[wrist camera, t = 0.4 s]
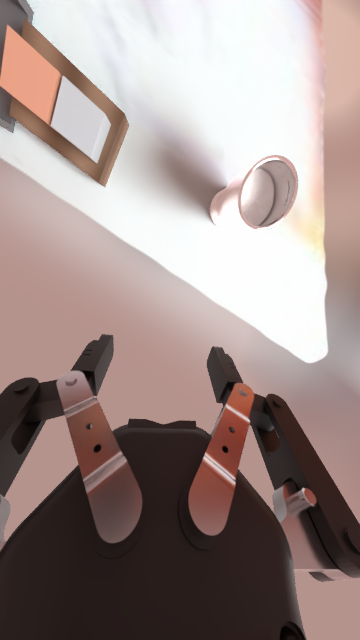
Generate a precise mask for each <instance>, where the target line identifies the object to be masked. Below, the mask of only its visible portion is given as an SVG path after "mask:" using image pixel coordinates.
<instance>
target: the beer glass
mask: <svg viewBox="0 0 360 640" xmlns="http://www.w3.org/2000/svg"><path fill="white" fill-rule="evenodd" d="M297 190H298V177H297V172H296V170H295V167H294V166H293V164H292V163H291V162H290V161H289V160H288V159H287V158H285V157H283V156H279V155H273V156H268V157H265V158H263V159H261V160H260V161H258V162H256V163H254V164H252V165H250V166H249V167H247V168H246V169H244V170H243V171H241V172H240V173H239V174H238V175H236V176H235V177H234V178H233V179H232V180H231V182H230V183H229V184H228V186H227V187H226V189H223V190H221V191H219V192H218V193H217V194H216V195H215V196H214V198H213V200H212V202H211V205H210V216H211V219H212V221H213V222H214V224H215V225H217V226H219V227H222V228H226V227H231V228H233V229H236V230H239V231H256V230H265V229H268V228H271V227H273V226H275V225H276V224H278V223H279V222H280V221H282V220H283V219H284V217H285V216H286V215H287V214H288V212H289V211H290V209H291V208H292V206H293V203H294V201H295V198H296V195H297Z"/></svg>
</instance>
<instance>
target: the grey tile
mask: <svg viewBox="0 0 360 640" xmlns="http://www.w3.org/2000/svg"><path fill="white" fill-rule="evenodd" d="M110 126H111V124H110V122H109V120H108V118H107V116H106V114H105V113H104V112H103V111H102V110H100V109H99V108H98V107H97V106H96V105H95V104H94V103H93V102H92V101H91V100H90V99H88V98H87V97H86V96H85V95H84V94H83V93H82V92H81V91H80V90H79V89H78V88H76V87H75V86H74V85H73V84H72V83H71V82H70V81H69V80H68V79H67V78H66V77H64V76H63V77H62V81H61V85H60V89H59V93H58V98H57V102H56V106H55V110H54V114H53V118H52V123H51V127H52V128H54V129H55V130H56V131H57V132H58V133H59V134H60V135H62V136H63V137H64V138H65V139H67V140H68V141H69V142H70V143H72V144H73V145H74V146H75V147H77V148H78V149H79V150H80V151H82V152H83V153H84V154H85V155H87V156H88V157H89V158H90V159H92V160H93V161H94V162H95V163H98V160H99V157H100V154H101V152H102V149H103V146H104V143H105V140H106V138H107V135H108V132H109V129H110Z"/></svg>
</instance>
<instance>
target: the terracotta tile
mask: <svg viewBox="0 0 360 640" xmlns="http://www.w3.org/2000/svg"><path fill="white" fill-rule="evenodd" d="M61 81H62V76H61V74H60V73H59V71H58V70H57V69H55V68H54V67H53V66H52V65H51V64H50V63H49V62H48V61H47V60H46V59H45V58H43V57H42V56H41V55H40V54H39V53H38V52H37V51H36V50H35V49H34V48H33V47H31V46H30V45H29V44H28V43H27V42H26V41H25V40H24V39H23V38H22V37H21V36H19V35H18V34H17V33H16V32H15V31H14V30H13V29H12V28H11V27H10V26H8V25H7V31H6V38H5V46H4V53H3V61H2V69H1V76H0V86H1V87H2V88H3V89H4V90H6V91H7V92H8V93H9V94H10V95H12V96H13V97H14V98H15V99H16V100H17V101H19V102H20V103H21V104H22V105H24V106H25V107H26V108H27V109H29V110H30V111H31V112H32V113H34V114H35V115H36V116H37V117H39V118H40V119H41V120H43V121H44V122H45V123H46V124H48V125H49V126H50V127H51V123H52V118H53V114H54V110H55V106H56V102H57V98H58V93H59V89H60V85H61ZM51 128H52V127H51ZM53 129H54V128H53ZM54 130H55V129H54ZM55 131H56V130H55ZM56 132H57V131H56Z"/></svg>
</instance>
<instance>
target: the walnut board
mask: <svg viewBox="0 0 360 640" xmlns="http://www.w3.org/2000/svg"><path fill="white" fill-rule="evenodd" d="M22 38H23V39H24V40H25V41H26V42H27V43H28V44H29V45H30V46H31V47H33V48H34V49H35V50H36V51H37V52H38V53H39V54H40V55H41V56H42V57H43V58H45V59H46V60H47V61H48V62H49V63H50V64H51V65H52V66H53V67H54V68H55V69H57V70H58V71H59V73H60V74H61V76H62V77H63V76H64V77H66V78H67V79H68V80H69V81H70V82H71V83H72V84H73V85H74V86H75V87H76V88H78V89H79V90H80V91H81V92H82V93H83V94H84V95H85V96H86V97H87V98H88V99H90V100H91V101H92V102H93V103H94V104H95V105H96V106H97V107H98V108H99V109H100V110H102V111H103V112H104V113H105V114H106V116H107V118H108V120H109V122H110V124H111V126H110V129H109V132H108V135H107V138H106V140H105V143H104V146H103V149H102V152H101V154H100V157H99V160H98V163H95V162H94V161H93V160H92V159H90V158H89V157H88V156H87V155H85V154H84V153H83V152H82V151H80V150H79V149H78V148H77V147H75V146H74V145H73V144H72V143H70V142H69V141H68V140H67V139H65V138H64V137H63V136H62V135H60V134H59V133H58V132H56V131H55V130H54V129H53V128H51V127H50V126H49V125H48V124H46V123H45V122H44V121H43V120H41V119H40V118H39V117H37V116H36V115H35V114H34V113H32V112H31V111H30V110H29V109H27V108H26V107H25V106H24V105H22V104H21V103H20V102H19V101H17V100H16V99H15V98H14V97H13V96H12V101H11V107H10V113H9V115H11V116H12V117H13V118H14V119H16V120H17V121H18V122H20V123H21V124H22V125H24V126H25V127H26V128H28V129H29V130H30V131H32V132H33V133H34V134H35V135H37V136H38V137H39V138H41V139H42V140H43V141H45V142H46V143H47V144H49V145H50V146H51V147H52V148H54V149H55V150H56V151H58V152H59V153H60V154H62V155H63V156H64V157H66V158H67V159H68V160H70V161H71V162H72V163H73V164H75V165H76V166H77V167H79V168H80V169H81V170H83V171H84V172H85V173H87V174H88V175H89V176H91V177H92V178H93V179H94V180H96V181H97V182H98V183H100V184H101V185H103V186H104V187H105V186H106V183H107V181H108V178H109V176H110V173H111V171H112V168H113V165H114V163H115V160H116V158H117V155H118V153H119V150H120V147H121V145H122V142H123V140H124V137H125V135H126V132H127V130H128V127H129V124H128V121H127V119H126V116H125V114H124V113H123V112H122V111H121V110H120V109H119V108H118V107H117V106H116V105H115V104H114V103H113V102H112V101H111V100H110V99H109V98H108V97H107V96H106V95H105V94H103V93H102V92H101V91H100V90H99V89H98V88H97V87H96V86H95V85H94V84H93V83H92V82H91V81H90V80H89V79H88V78H87V77H86V76H85V75H84V74H83V73H82V72H80V71H79V70H78V69H77V68H76V67H75V66H74V65H73V64H72V63H71V62H70V61H69V60H68V59H67V58H66V57H65V56H64V55H63V54H62V53H61V52H60V51H58V50H57V49H56V48H55V47H54V46H53V45H52V44H51V43H50V42H49V41H48V40H47V39H46V38H45V37H44V36H43V35H42V34H41V33H40V32H39V31H38V30H36V29H35V28H34V27H33V26H32V25H31V24H30V23H29V22H28V21H27V20H26V19H25V18H24V24H23V31H22Z"/></svg>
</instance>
